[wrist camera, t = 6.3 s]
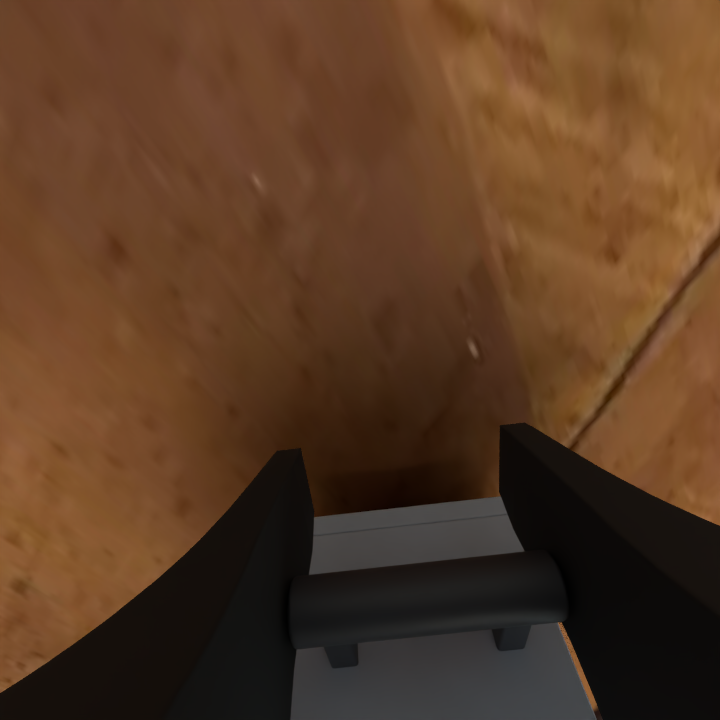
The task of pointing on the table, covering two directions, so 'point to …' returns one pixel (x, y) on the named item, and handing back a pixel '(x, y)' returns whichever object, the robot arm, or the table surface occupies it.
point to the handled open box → (430, 620)
